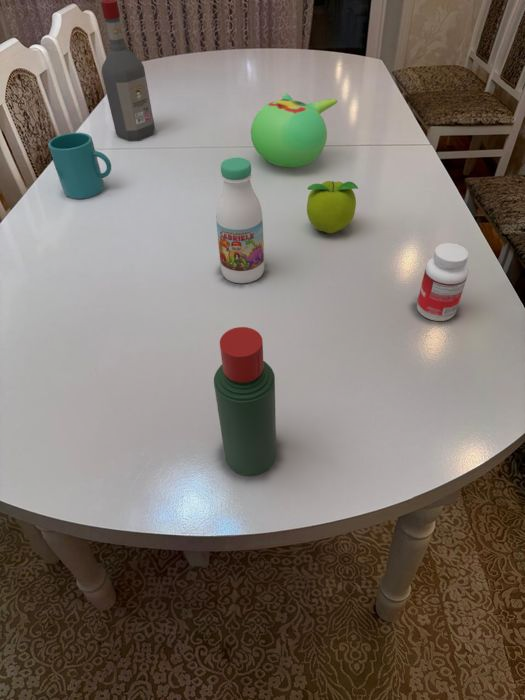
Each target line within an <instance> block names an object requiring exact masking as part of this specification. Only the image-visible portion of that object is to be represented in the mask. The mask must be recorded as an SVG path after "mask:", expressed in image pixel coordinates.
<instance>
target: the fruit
mask: <svg viewBox="0 0 525 700" xmlns="http://www.w3.org/2000/svg"><path fill="white" fill-rule="evenodd" d="M306 189H307V190H308V191H310V192H309V194H308V197H307V203H306V215H307V218H308V220H309V222H310V223H311V225H312V226H313V227H314V228H315V229H316V230H318V231H320V232H324V233H325V234H334V233H336V232H339V231H341V230H343V229H345V228H346V227H348V225H350V223H351V222H352V221H353V219H354V217H355V213H356V206H357V199H356V194H355V192H354V190H357V189H358V190H359V187H358V185H357V184H356V183H354V182H353V181H345V182H344V183H343V182H342V181H334V180H332V181H331V180H327V181H324V182H322V183H312V184H310V185H308V187H307V188H306Z"/></svg>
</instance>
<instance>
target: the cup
mask: <svg viewBox="0 0 525 700" xmlns="http://www.w3.org/2000/svg"><path fill="white" fill-rule="evenodd" d="M47 146H48V150H49V152H50V156H51V158H52V162H53V164H54V168H55V170H56V174H57V177H58V179H59V182H60V185H61V189H62V191H63V194H64V195H65V196H66V197H68V198H71V199H76V200H82V199H89V198H93V197H95V196H98V195H99V194H100V193H101V192H103V190H104V188H105V182H104V179H105V178H107V177H108V176H109V175H110V174H111V172H112V163H111V160H110V159H109V158H108V156H107V155H106V154H104V153H102V152H101V151H98V150H96V147H95V144H94V141H93V137H92V136H91V135H90V134H88V133H84V132H69V133H67V132H66V133H62V134H60V135H57V136H55V137H53V138H51V139H50V140H49V141H48V143H47ZM98 158H100V159H101V160H102V161H103V162H104V163H105V165H106V170H105V171H104V172H102V171H101V167H100V163H99V159H98Z"/></svg>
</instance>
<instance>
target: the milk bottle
mask: <svg viewBox="0 0 525 700" xmlns="http://www.w3.org/2000/svg"><path fill="white" fill-rule="evenodd" d="M220 174H221V179H222V180H223V185H222V190H221V193H220V196H219V198H218V201H217V204H216V211H215V212H216V213H215V219H216V220H215V221H216V232H217V242H218V253H219V261H220V262H219V263H220V269H221V274H222V275H223V277H224V278H225V279H226V280H228V281H229V282H231V283H236V284H247V283H253V282H255V281H257V280H259V278H262V275H263V274H264V272H265V241H264V221H263V219H264V217H263V211H262V205H261V203H260V199H259V198H258V196H257V194H256V192H255V190H254V188H253V185H252V182H251V178H252V164H251V162H250V160H248V159H247V158H243V157H229V158H227V159H224V160H223V161H222V162H221V163H220Z"/></svg>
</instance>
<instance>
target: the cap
mask: <svg viewBox="0 0 525 700" xmlns="http://www.w3.org/2000/svg"><path fill="white" fill-rule="evenodd" d="M219 349H220V356H221V357H220V358H221V365H222V366H223V372H224V374H225V375H226V376H227V377H228V378H229V379H230V380H232V381H235V382H249V381H252V380H254V379H256V378H257V377H259V376H260V375H261V373H262V371H263V368H264V364H263V361H264V343H263V337H262V335H261V334H260V332H259V331H258V330H256V329H254V328H251V327H248V326H238V327H233V328H231V329H229V330H226V331H225V332H224V333H223V334H222V336H221V337H220V339H219Z"/></svg>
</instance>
